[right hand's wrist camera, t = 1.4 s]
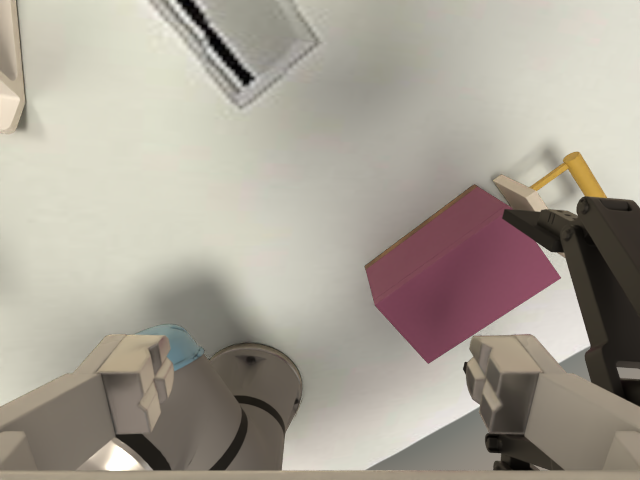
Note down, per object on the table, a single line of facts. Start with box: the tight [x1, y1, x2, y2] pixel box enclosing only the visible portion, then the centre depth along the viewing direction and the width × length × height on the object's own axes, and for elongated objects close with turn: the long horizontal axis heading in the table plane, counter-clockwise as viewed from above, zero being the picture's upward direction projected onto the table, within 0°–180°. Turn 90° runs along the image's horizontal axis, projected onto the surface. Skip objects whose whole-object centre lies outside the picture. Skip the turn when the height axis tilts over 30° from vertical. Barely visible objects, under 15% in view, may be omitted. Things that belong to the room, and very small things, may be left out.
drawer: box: [493, 152, 607, 258], centre depth 46 cm, size 22×9×8 cm, turn 130°
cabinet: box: [365, 184, 561, 364], centre depth 48 cm, size 17×10×10 cm, turn 130°
